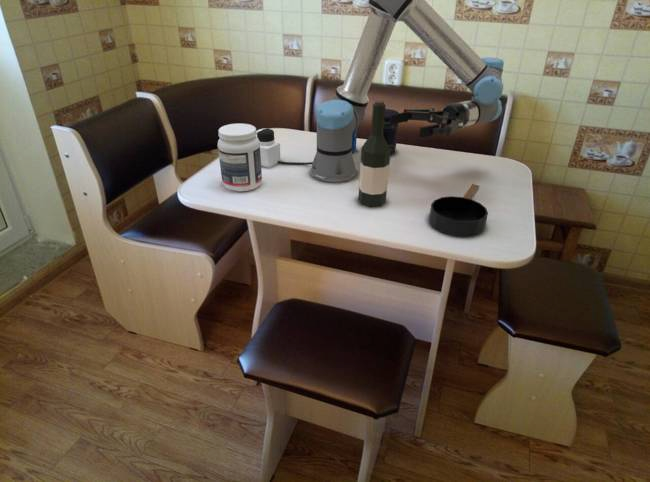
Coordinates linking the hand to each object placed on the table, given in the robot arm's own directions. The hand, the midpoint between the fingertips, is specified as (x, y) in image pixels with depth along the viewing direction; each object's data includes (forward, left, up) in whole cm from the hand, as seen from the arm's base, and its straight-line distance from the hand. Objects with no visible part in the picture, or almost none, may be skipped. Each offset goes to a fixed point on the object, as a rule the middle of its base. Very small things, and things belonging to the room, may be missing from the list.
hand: (404, 125), depth 130 cm
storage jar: (-19, +32, -22) cm, 43 cm away
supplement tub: (-46, -19, -22) cm, 54 cm away
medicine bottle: (-50, 0, -22) cm, 55 cm away
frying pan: (+21, -3, -22) cm, 31 cm away
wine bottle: (-5, -8, -22) cm, 24 cm away
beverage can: (-31, +26, -22) cm, 46 cm away
